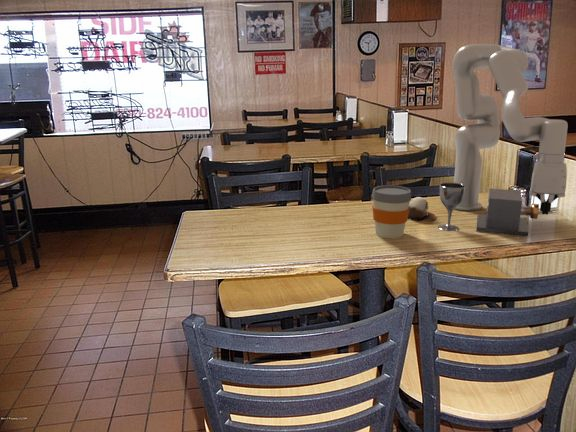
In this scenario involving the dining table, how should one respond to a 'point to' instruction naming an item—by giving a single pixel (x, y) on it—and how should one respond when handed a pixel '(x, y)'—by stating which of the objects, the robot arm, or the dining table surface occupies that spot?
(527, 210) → the shaft
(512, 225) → the block
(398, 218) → the reusable coffee cup
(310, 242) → the dining table surface
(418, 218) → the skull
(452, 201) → the wine glass
